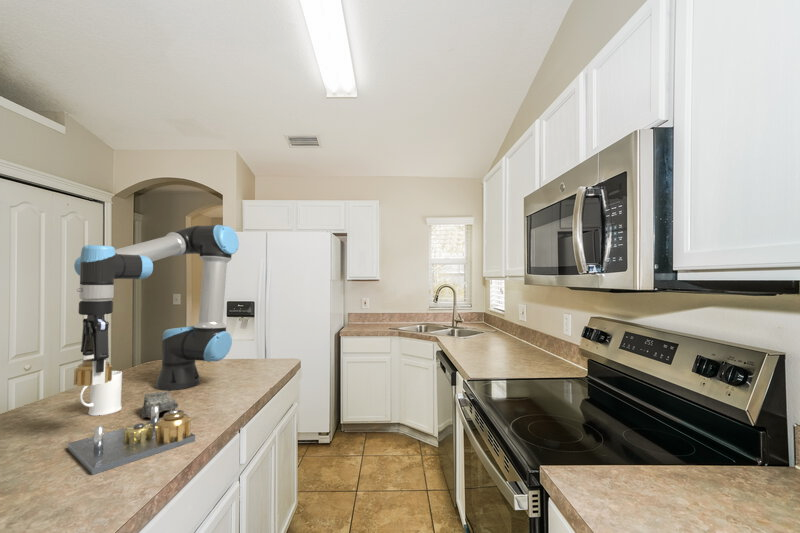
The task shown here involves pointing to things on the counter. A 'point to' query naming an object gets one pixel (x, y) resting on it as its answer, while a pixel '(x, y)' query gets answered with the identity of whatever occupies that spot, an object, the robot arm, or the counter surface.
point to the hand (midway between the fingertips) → (93, 380)
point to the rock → (157, 403)
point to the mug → (105, 396)
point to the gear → (89, 373)
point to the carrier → (133, 441)
